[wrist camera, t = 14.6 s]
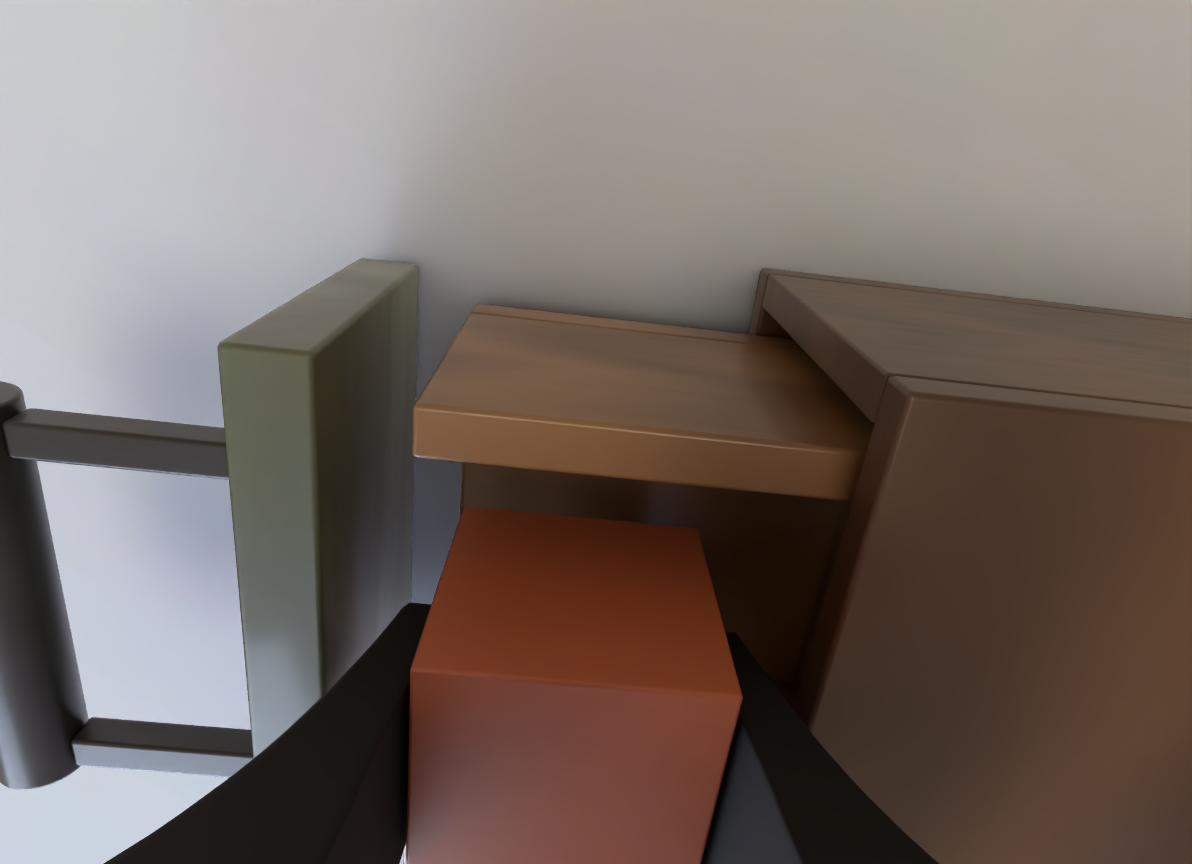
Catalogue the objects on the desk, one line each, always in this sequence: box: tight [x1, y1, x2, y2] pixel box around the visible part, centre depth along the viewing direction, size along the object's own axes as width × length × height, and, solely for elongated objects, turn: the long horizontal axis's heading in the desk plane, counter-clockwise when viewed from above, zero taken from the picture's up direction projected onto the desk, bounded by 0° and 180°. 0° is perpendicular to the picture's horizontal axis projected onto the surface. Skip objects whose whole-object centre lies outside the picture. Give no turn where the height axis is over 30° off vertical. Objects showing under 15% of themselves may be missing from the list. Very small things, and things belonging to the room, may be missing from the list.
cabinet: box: [748, 269, 1192, 864], centre depth 15 cm, size 12×11×8 cm
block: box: [406, 506, 743, 864], centre depth 11 cm, size 4×4×4 cm
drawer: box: [0, 258, 875, 864], centre depth 14 cm, size 16×10×6 cm, turn 83°
